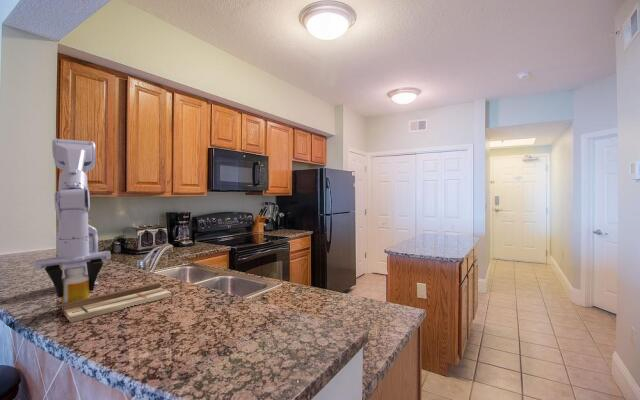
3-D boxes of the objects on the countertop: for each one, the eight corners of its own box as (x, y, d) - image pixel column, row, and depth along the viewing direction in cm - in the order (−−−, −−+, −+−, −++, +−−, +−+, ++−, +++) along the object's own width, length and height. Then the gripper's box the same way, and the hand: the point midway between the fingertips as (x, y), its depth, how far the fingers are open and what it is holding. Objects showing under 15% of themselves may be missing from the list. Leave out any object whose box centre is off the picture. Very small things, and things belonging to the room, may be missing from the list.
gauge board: (63, 313, 70) (62, 303, 70) (158, 290, 86) (158, 282, 86) (71, 322, 65) (70, 311, 65) (170, 296, 81) (170, 287, 81)
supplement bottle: (95, 303, 77) (94, 265, 77) (76, 311, 71) (75, 270, 71) (76, 302, 77) (74, 265, 77) (55, 310, 72) (54, 270, 72)
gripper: (36, 243, 66) (38, 305, 66) (113, 235, 77) (115, 288, 77) (31, 240, 71) (33, 298, 71) (105, 233, 82) (106, 283, 82)
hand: (75, 293), depth 74 cm, fingers closed on supplement bottle, 5 cm apart
